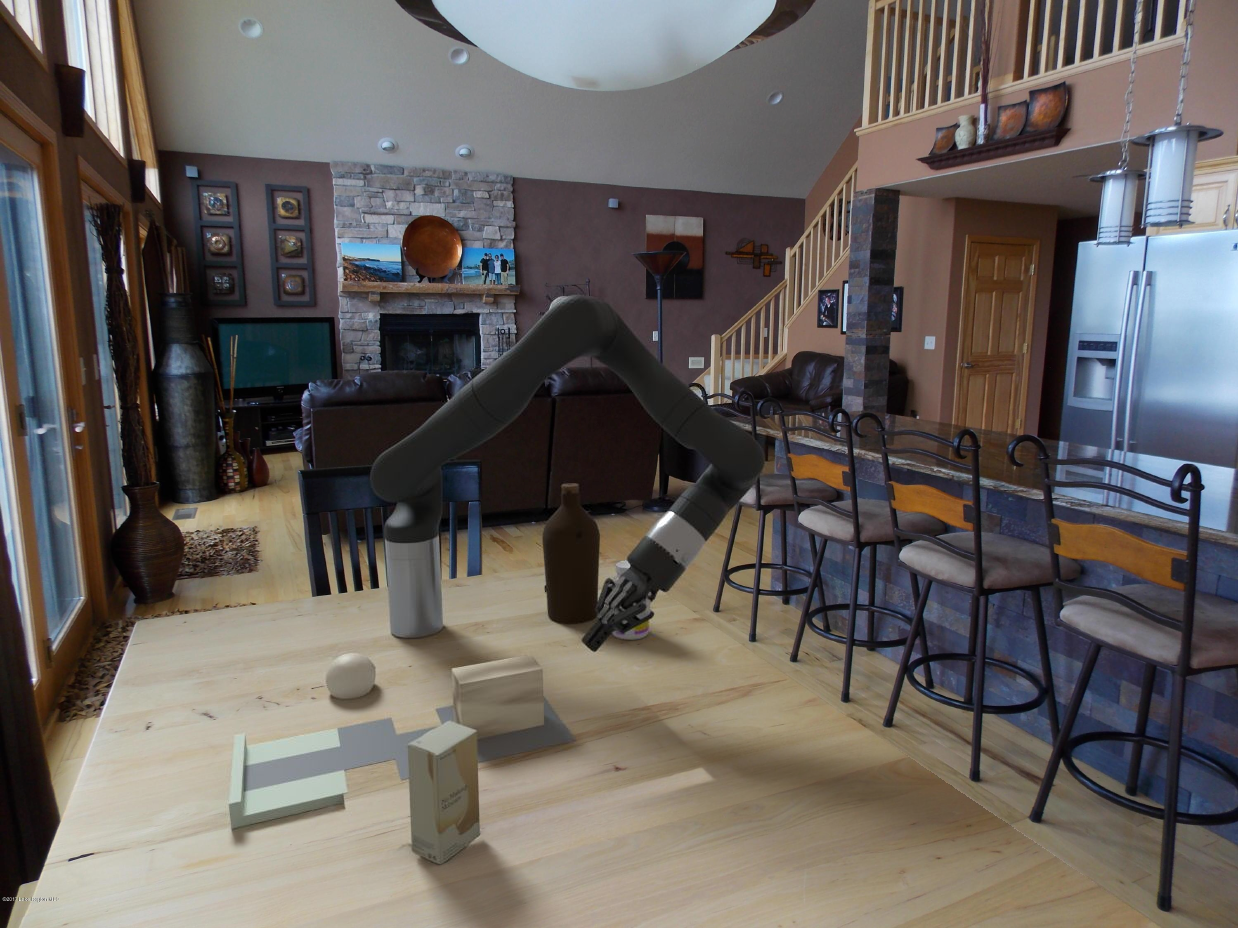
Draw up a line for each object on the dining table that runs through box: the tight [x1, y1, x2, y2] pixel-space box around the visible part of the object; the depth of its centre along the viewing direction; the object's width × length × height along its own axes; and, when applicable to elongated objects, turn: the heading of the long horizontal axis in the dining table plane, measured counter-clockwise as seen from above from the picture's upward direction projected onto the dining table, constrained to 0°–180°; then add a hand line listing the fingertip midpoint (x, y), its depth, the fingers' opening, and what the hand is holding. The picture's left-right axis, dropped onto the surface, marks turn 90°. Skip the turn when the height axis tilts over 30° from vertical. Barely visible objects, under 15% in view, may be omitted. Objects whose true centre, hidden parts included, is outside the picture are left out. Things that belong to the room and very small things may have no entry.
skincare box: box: [408, 721, 481, 865], centre depth 83 cm, size 6×4×12 cm
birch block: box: [451, 654, 544, 739], centre depth 106 cm, size 5×11×8 cm, turn 113°
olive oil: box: [541, 482, 601, 624], centre depth 147 cm, size 11×11×25 cm
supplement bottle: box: [611, 559, 650, 641], centre depth 139 cm, size 7×7×13 cm
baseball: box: [325, 652, 377, 700], centre depth 116 cm, size 7×7×7 cm
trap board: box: [228, 695, 577, 830], centre depth 101 cm, size 16×40×3 cm, turn 113°
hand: (587, 646), depth 110 cm, fingers closed
